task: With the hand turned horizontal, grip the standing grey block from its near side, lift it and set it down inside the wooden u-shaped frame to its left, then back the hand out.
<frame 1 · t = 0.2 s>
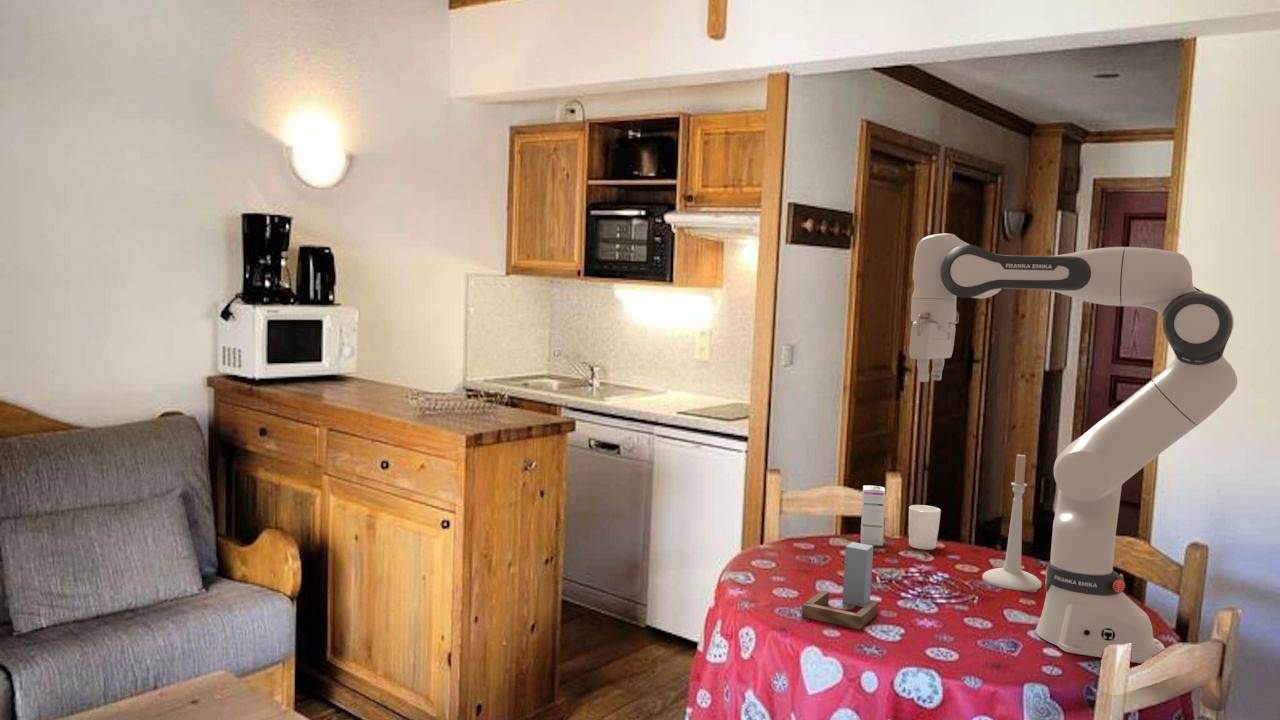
hand: (930, 381, 202), 47 cm above the table, tool pointing down, fingers open, 8 cm apart
syrup box: (871, 543, 256), on the table
grey block: (856, 601, 207), on the table
white cup: (922, 547, 255), on the table
wooden u-shaped frame: (839, 615, 198), on the table
candlestick: (1011, 582, 227), on the table
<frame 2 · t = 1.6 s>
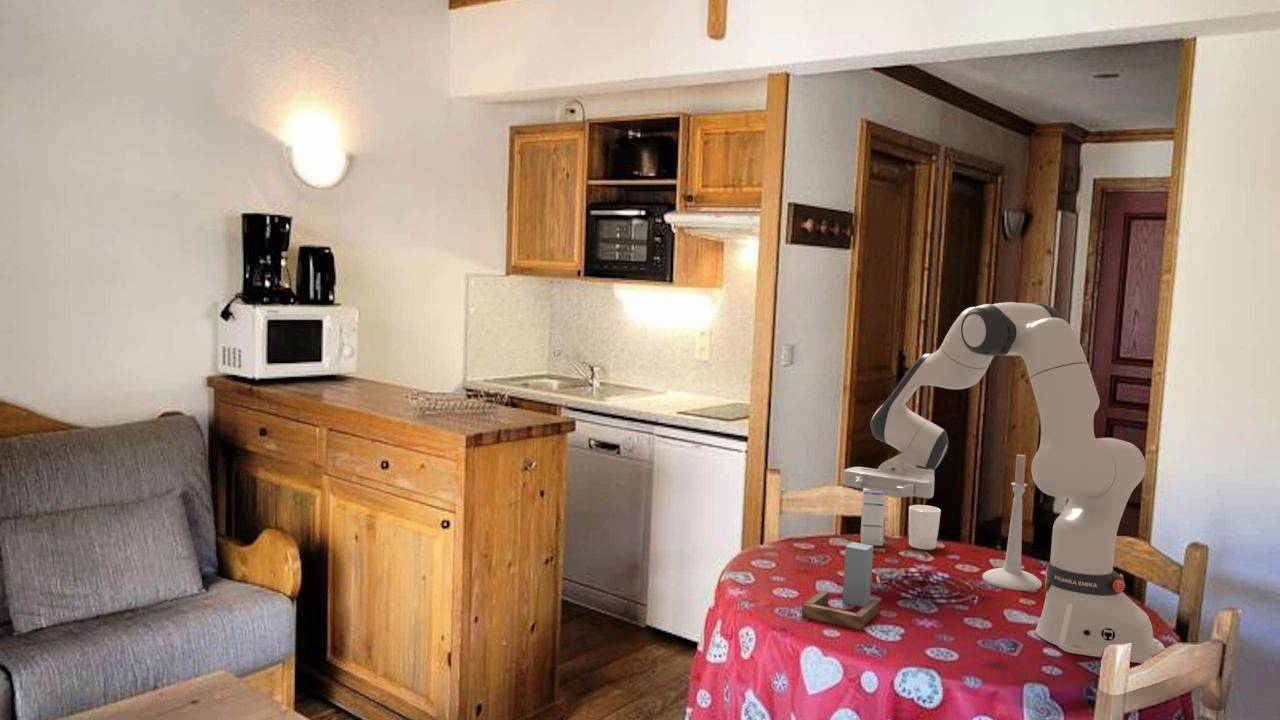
hand: (879, 487, 216), 22 cm above the table, tool horizontal, fingers open, 8 cm apart
nothing on the table moved.
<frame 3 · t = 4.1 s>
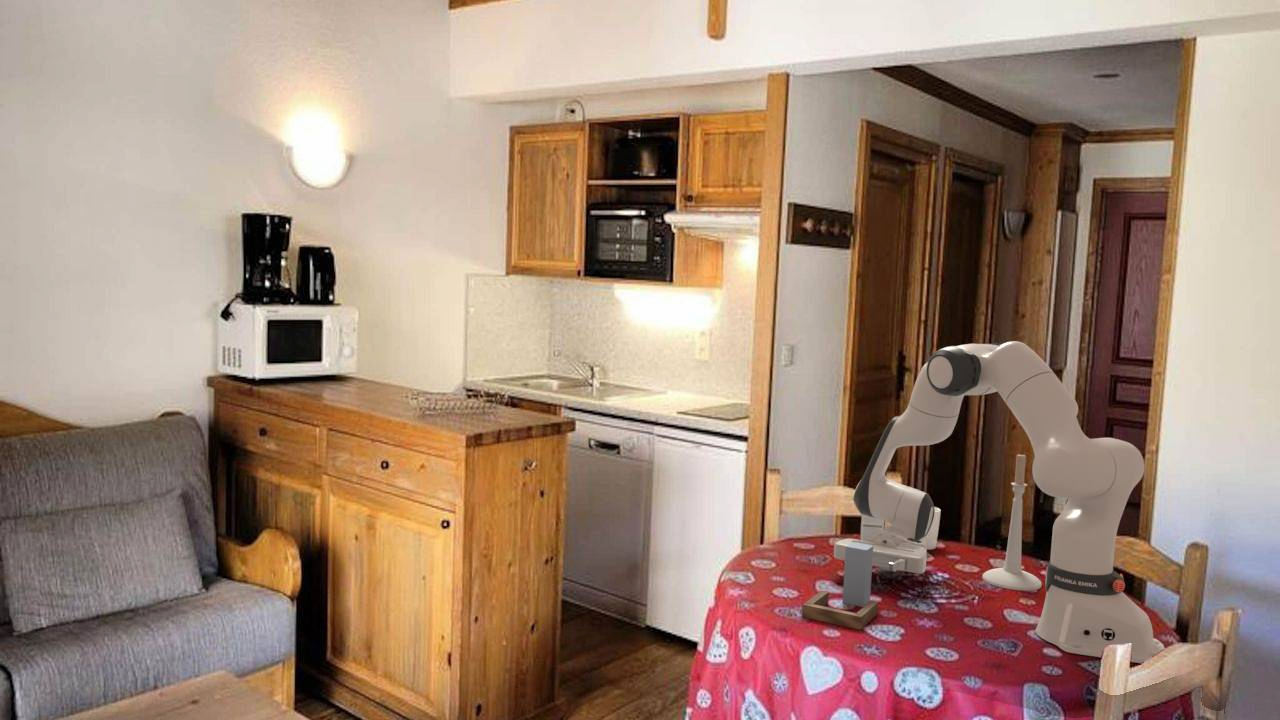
hand: (870, 563, 213), 6 cm above the table, tool horizontal, fingers open, 8 cm apart
nothing on the table moved.
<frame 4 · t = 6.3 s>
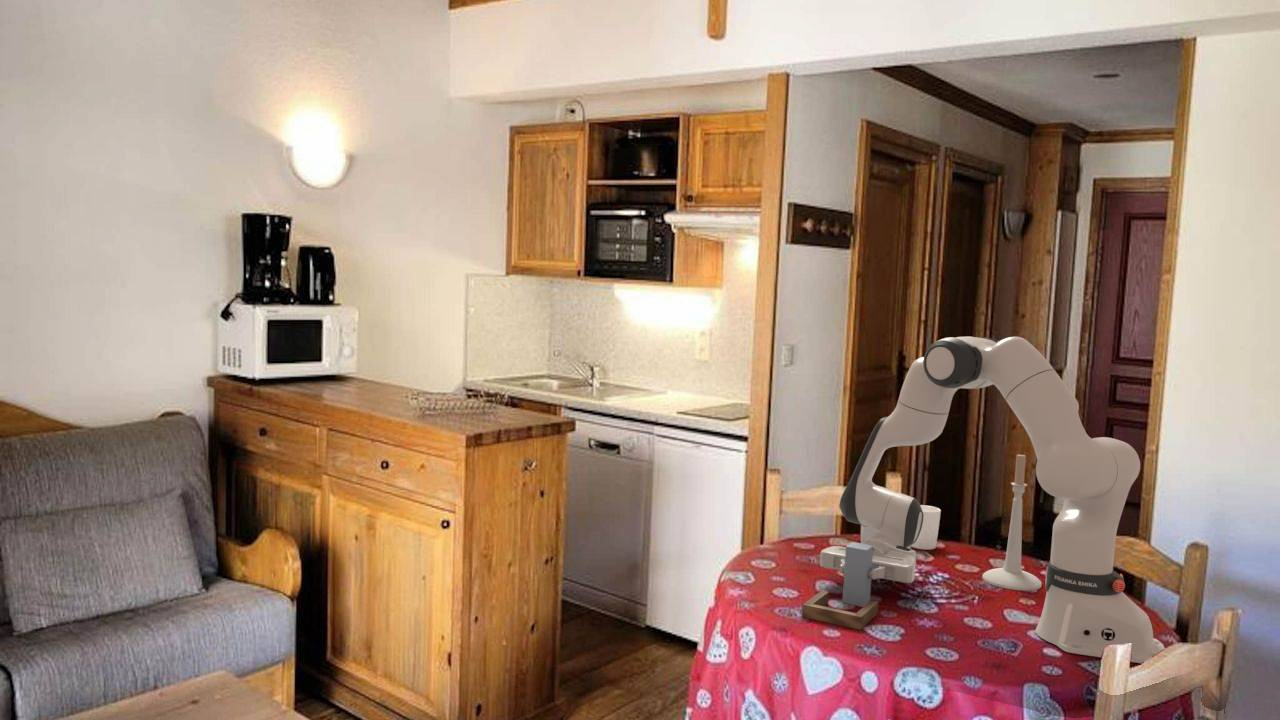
hand: (856, 572, 206), 7 cm above the table, tool horizontal, fingers closed on grey block, 4 cm apart
grey block: (856, 601, 207), on the table, touching gripper
everything else where it was.
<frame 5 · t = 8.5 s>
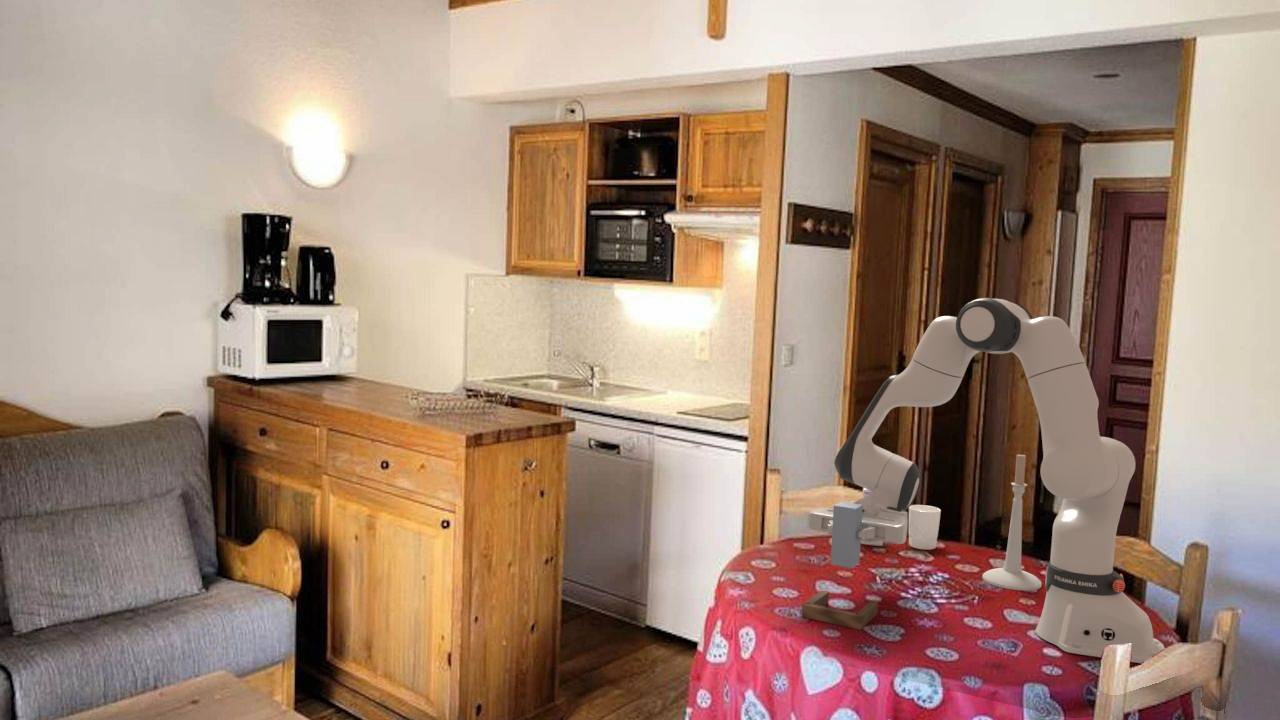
hand: (845, 532, 197), 17 cm above the table, tool horizontal, fingers closed on grey block, 4 cm apart
grey block: (844, 563, 198), point 10 cm above the table, touching gripper
everything else where it was.
when the fingers open (8 cm above the table, at t = 10.7 s): grey block drops 2 cm, on the table.
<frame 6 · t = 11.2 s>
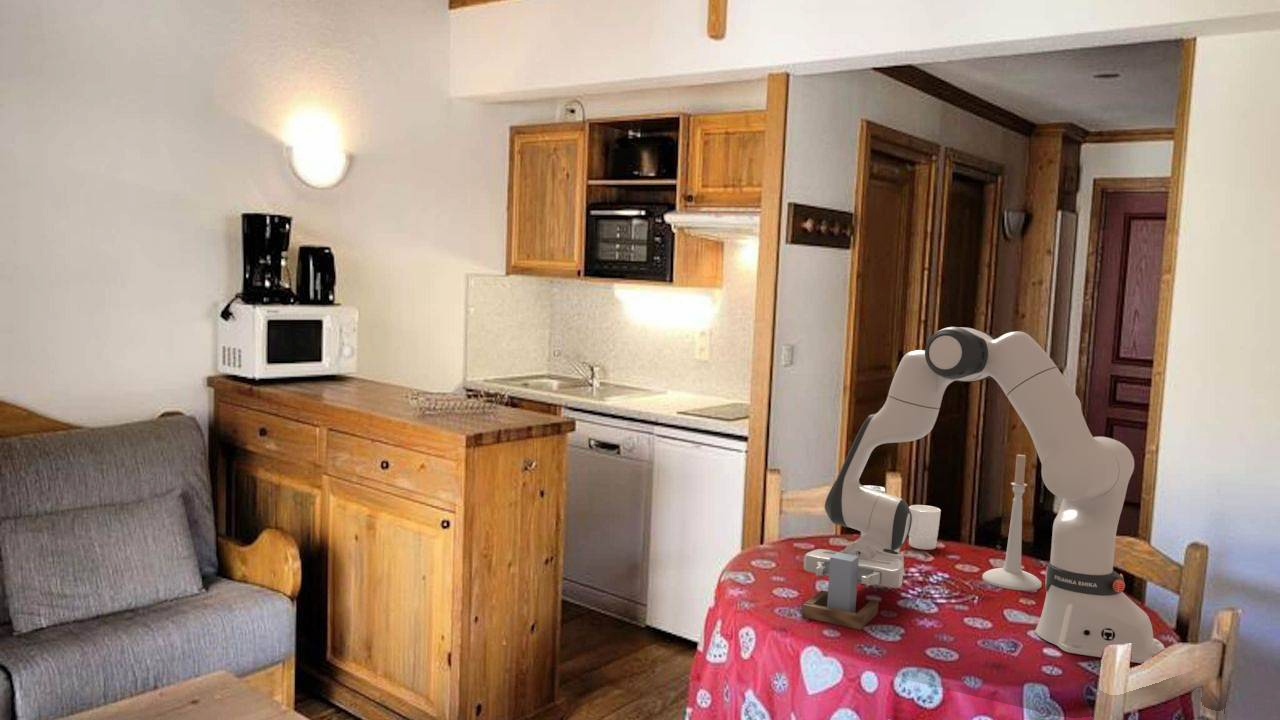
hand: (841, 577, 197), 8 cm above the table, tool horizontal, fingers open, 8 cm apart
grey block: (840, 614, 198), on the table
everything else where it was.
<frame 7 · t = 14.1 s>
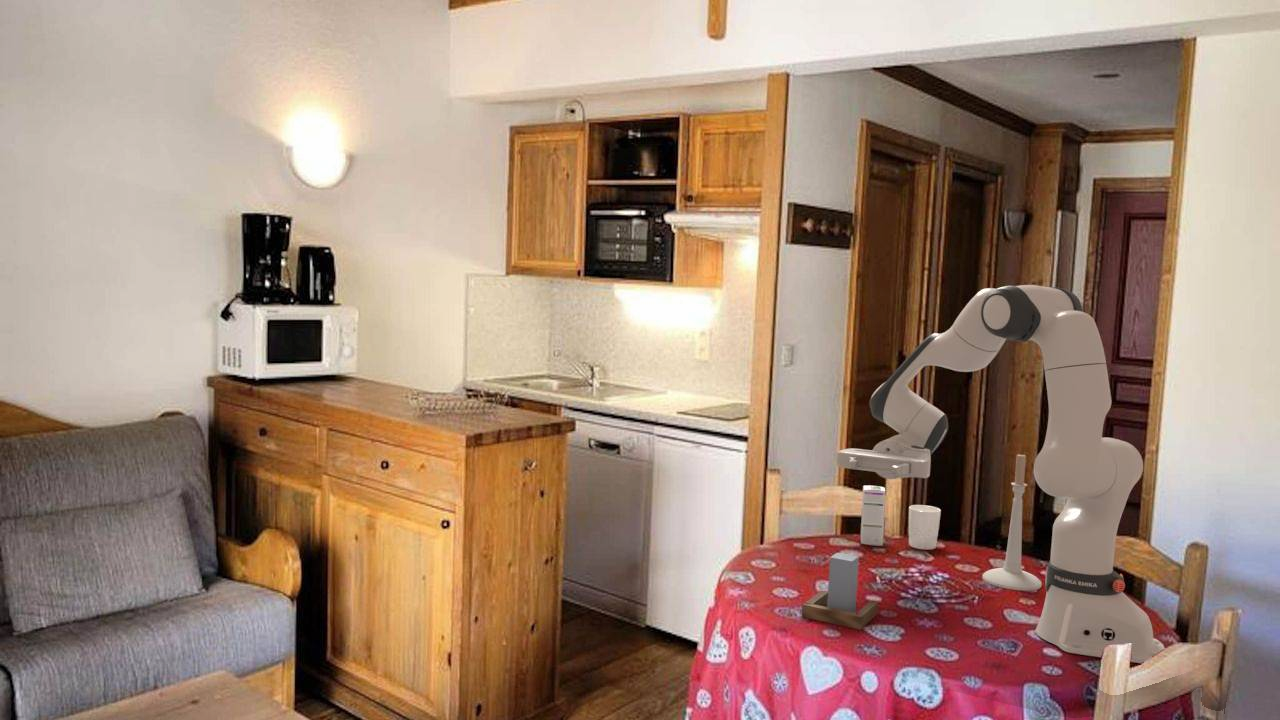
hand: (873, 467, 210), 28 cm above the table, tool horizontal, fingers open, 8 cm apart
nothing on the table moved.
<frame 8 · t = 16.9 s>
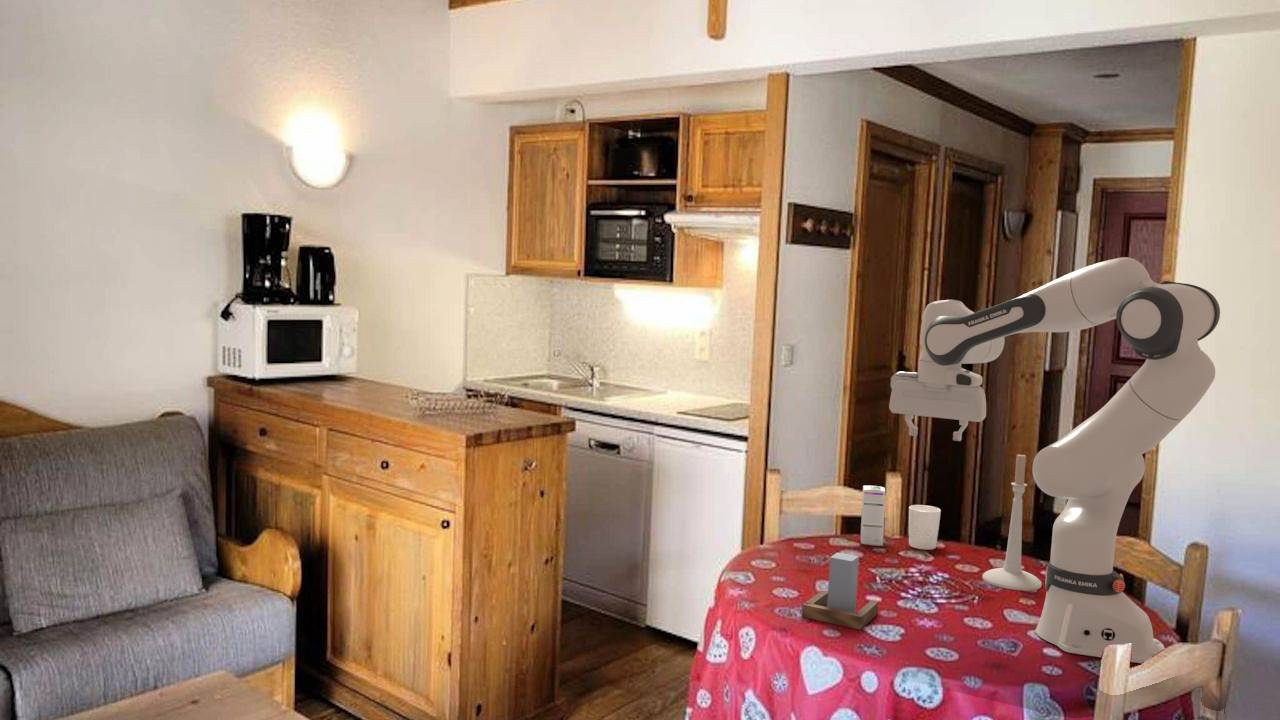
hand: (934, 437, 214), 34 cm above the table, tool pointing down, fingers open, 8 cm apart
nothing on the table moved.
at the end: grey block inside the target area on the wooden u-shaped frame (0.2 cm from its centre), point 0.0 cm above the wooden u-shaped frame's base; grey block tilted 0°; the gripper is holding nothing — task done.
